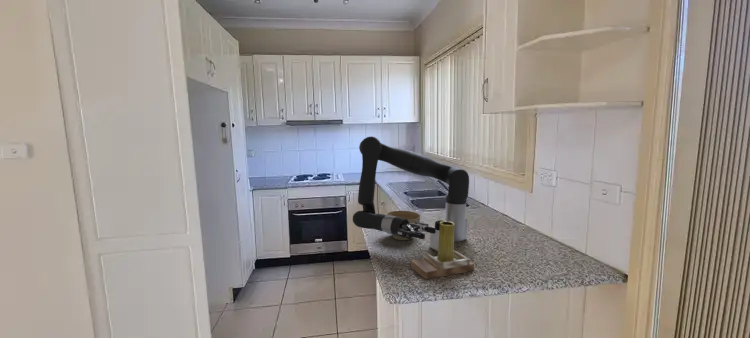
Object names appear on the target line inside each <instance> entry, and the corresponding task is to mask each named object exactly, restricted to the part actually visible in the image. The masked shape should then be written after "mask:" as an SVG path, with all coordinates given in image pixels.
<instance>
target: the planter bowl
mask: <svg viewBox="0 0 750 338" xmlns="http://www.w3.org/2000/svg"><path fill="white" fill-rule="evenodd" d="M385 215H389V216H396V217H401V218H406V219H407V220H408V222H409V223H414V224H415V222H420V223H421V221H420V220H421V214H419V213H417V212H415V211H411V210H392V211H389V212H386V213H385ZM406 235H407V234H406ZM391 236H392V238H393V239H395V240H398V241H409V240H412V239H413V238H412V237H411V239H408V238H404V237H400V236H396V235H392V234H391ZM407 236H408V235H407Z"/></svg>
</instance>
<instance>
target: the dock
mask: <svg viewBox="0 0 750 338" xmlns="http://www.w3.org/2000/svg"><path fill="white" fill-rule="evenodd" d="M437 258H438V255H437V256H434V255H431V254H430V253H428V252H424V257H422V258H417V259H411V260H410V267H411V268H412V269H413V270H414V271H415V272H416V273H418V274H419V275H420V276H421V277H423V278H424V279H425V280H428V279H434V278H435V279H436V278H440V277H445V276H450V275H456V274H461V273H467V272H471V271H472V272H473V271H475V270H474V269H475V263H473V262H472V261H471V259H470V258H468V257H467V256H465V255H464V254H462V253H460V252H459V251H457V250H455V249H454V261H448V262H440V261H439V260H437Z"/></svg>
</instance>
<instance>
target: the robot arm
mask: <svg viewBox="0 0 750 338" xmlns="http://www.w3.org/2000/svg"><path fill="white" fill-rule="evenodd" d="M358 148H359V152H360V154H361V156H362V159H361V160H362V167H361V174H360V179H359V180H360V181H359V184H358V192H357V193H358V194H357V195H358V196H357V203H358V205H361V206H362V210H358V211H356V212H354V214H353V215H352V222H353V224H354V225H355V226H356V227H359V228H361V229H371V230H376V231H379V232H383V233H386V234H389V235H391V236H392V235H396V236H400V237H404V238H408V239H410V240H412V239H415V238H416V239H419V240H425V238H426V233H428V234H430V233H433V234H435V233H436V228H435V227H433V226H429V224H428V223H424V222H421V221H420V222H415V224H414V223H409V222H408V220H407V219H406V218H401V217H396V216H389V215H386V214H384V213H376V208H375V207H376V206H375V203H374V201H375V192H376V189H375V188H376V174H377V168H378V162H379V161H380V162H385V163H387V164H390V165H392V166H394V167H396V168H399V169H401V170H403V171H405V172H409V173H411V174H413V175H419V176H421V177H428V178H433V179H436V180H438V181H441V182H443V183H445V184H447V185H448V193H447V195H446V196H445V213H444V214H445V216H444V221H448V222H453V223H454V242H463V241H465V240H467V235H468V234H467V233H468V219H467V218H466V217H467V215H466V214H467V199H468V196H469V189H470V175H469V173H468V172H467V171H466V169H463V168H460V167H457V166H452V165H449V164H444V163H440V162H437V161H436V160H434V159H431V158H429V157H428V156H425V155H424V154H421V153H418V152H415V151H411V150H407V149H402V148H397V147H392V146H389V145H387V144H385V143H382V142H381V141H380V140H379V138H377V137H376V136H367V137H365V138H363V140H362V141H361V142H360V143H359V147H358ZM406 234H407V235H408V236H407V235H406ZM411 237H412V239H411Z"/></svg>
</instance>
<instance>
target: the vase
mask: <svg viewBox="0 0 750 338" xmlns="http://www.w3.org/2000/svg"><path fill="white" fill-rule="evenodd" d="M454 250H455V241H454V223H453V222H448V221H445V220H444V221H443V222H440V229H439V246H438V251H437V256H438V258H437V260H439V261H440V262H448V261H454Z"/></svg>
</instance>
